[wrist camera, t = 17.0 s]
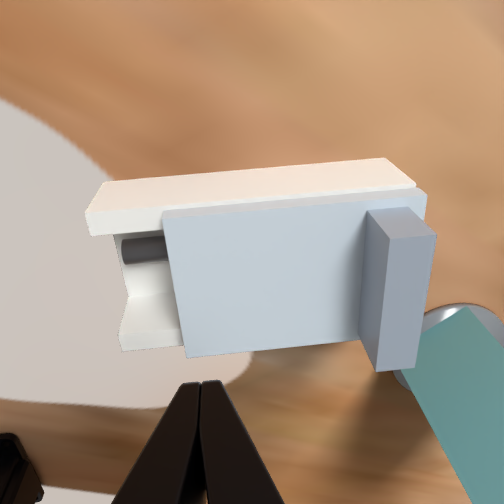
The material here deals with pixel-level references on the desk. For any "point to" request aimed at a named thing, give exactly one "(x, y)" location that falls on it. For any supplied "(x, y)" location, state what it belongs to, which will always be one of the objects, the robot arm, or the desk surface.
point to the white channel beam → (202, 195)
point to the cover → (304, 274)
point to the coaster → (439, 314)
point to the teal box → (464, 400)
